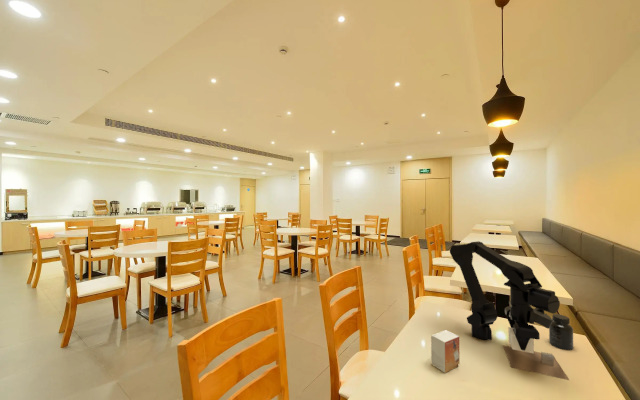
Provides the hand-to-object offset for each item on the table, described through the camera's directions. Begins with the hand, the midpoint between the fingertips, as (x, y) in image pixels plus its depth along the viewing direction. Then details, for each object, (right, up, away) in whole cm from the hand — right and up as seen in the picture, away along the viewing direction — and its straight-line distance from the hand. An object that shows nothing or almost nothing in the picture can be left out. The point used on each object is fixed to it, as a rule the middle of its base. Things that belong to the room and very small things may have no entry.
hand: (520, 345), depth 93 cm
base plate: (+3, -6, -1) cm, 7 cm away
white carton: (0, -1, 0) cm, 0 cm away
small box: (-27, -7, -1) cm, 28 cm away
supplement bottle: (+21, -5, +8) cm, 23 cm away
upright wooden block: (+7, -5, -3) cm, 9 cm away
